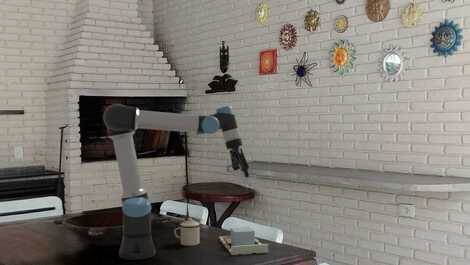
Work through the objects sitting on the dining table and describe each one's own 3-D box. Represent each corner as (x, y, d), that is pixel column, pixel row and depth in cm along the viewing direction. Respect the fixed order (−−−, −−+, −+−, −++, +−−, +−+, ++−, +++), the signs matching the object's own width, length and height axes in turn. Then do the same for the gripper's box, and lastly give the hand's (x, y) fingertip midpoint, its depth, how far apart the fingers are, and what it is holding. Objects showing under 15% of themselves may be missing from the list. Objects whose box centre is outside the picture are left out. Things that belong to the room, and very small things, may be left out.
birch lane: (218, 238, 240) (218, 236, 240) (251, 236, 244) (251, 234, 244) (231, 254, 213) (231, 251, 213) (267, 251, 216) (267, 249, 216)
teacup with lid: (201, 241, 236) (201, 216, 236) (197, 246, 227) (197, 220, 227) (176, 240, 238) (176, 216, 237) (171, 245, 229) (171, 220, 228)
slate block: (230, 244, 231) (230, 227, 231) (249, 242, 233) (249, 226, 233) (234, 249, 222) (234, 232, 222) (254, 247, 224) (254, 231, 224)
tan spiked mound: (170, 228, 267) (169, 203, 266) (177, 224, 277) (177, 200, 276) (196, 229, 263) (196, 204, 262) (203, 225, 272) (203, 201, 272)
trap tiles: (224, 239, 239) (224, 238, 239) (247, 237, 242) (247, 237, 242) (227, 243, 232) (227, 242, 232) (251, 241, 234) (251, 241, 234)
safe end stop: (231, 254, 213) (231, 246, 213) (267, 251, 216) (267, 243, 216) (231, 255, 212) (231, 246, 212) (268, 252, 215) (268, 244, 215)
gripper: (247, 135, 221) (260, 182, 221) (233, 138, 245) (245, 180, 245) (231, 140, 219) (244, 187, 219) (219, 142, 243) (230, 185, 243)
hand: (244, 183), depth 232 cm, fingers open, 13 cm apart
